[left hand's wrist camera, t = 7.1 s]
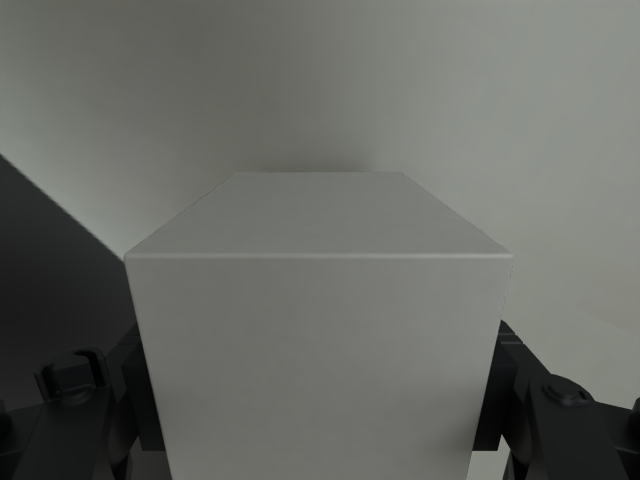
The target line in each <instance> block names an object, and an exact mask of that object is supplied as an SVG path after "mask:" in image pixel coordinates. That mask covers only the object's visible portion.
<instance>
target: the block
mask: <svg viewBox="0 0 640 480" xmlns="http://www.w3.org/2000/svg"><path fill="white" fill-rule="evenodd" d="M513 261H514V255H513V254H512V253H511V252H510V251H508V250H507V249H506V248H504V247H503V246H501V245H500V244H499V243H497V242H496V241H495V240H493V239H492V238H491V237H489V236H488V235H487V234H485V233H484V232H482V231H481V230H480V229H478V228H477V227H476V226H474V225H473V224H472V223H470V222H469V221H468V220H466V219H465V218H464V217H462V216H461V215H459V214H458V213H457V212H455V211H454V210H453V209H451V208H450V207H449V206H447V205H446V204H445V203H443V202H442V201H440V200H439V199H438V198H436V197H435V196H434V195H432V194H431V193H430V192H428V191H427V190H426V189H424V188H423V187H421V186H420V185H419V184H417V183H416V182H415V181H413V180H412V179H411V178H409V177H408V176H407V175H405V174H404V173H402V172H237V173H235V174H234V175H232V176H231V177H230V178H228V179H227V180H225V181H224V182H223V183H221V184H220V185H219V186H217V187H216V188H215V189H213V190H212V191H210V192H209V193H208V194H206V195H205V196H204V197H202V198H201V199H199V200H198V201H197V202H195V203H194V204H193V205H191V206H190V207H188V208H187V209H186V210H184V211H183V212H182V213H180V214H179V215H177V216H176V217H175V218H173V219H172V220H171V221H169V222H168V223H166V224H165V225H164V226H162V227H161V228H160V229H158V230H157V231H155V232H154V233H153V234H151V235H150V236H149V237H147V238H146V239H144V240H143V241H142V242H140V243H139V244H138V245H136V246H135V247H134V248H132V249H131V250H129V251H128V252H127V253H125V254H124V263H125V268H126V272H127V277H128V281H129V286H130V290H131V294H132V299H133V304H134V308H135V313H136V317H137V322H138V326H139V331H140V335H141V340H142V344H143V349H144V354H145V358H146V363H147V367H148V372H149V376H150V381H151V385H152V390H153V394H154V399H155V403H156V408H157V412H158V417H159V421H160V426H161V430H162V435H163V440H164V444H165V449H166V453H167V457H168V462H169V466H170V471H171V476H172V480H466V477H467V472H468V467H469V463H470V458H471V454H472V449H473V444H474V440H475V435H476V431H477V426H478V422H479V417H480V412H481V408H482V403H483V399H484V394H485V389H486V385H487V380H488V376H489V371H490V367H491V362H492V357H493V353H494V348H495V344H496V339H497V334H498V330H499V325H500V321H501V316H502V312H503V307H504V302H505V298H506V293H507V289H508V284H509V279H510V275H511V270H512V266H513Z"/></svg>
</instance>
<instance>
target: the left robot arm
mask: <svg viewBox="0 0 640 480" xmlns="http://www.w3.org/2000/svg"><path fill="white" fill-rule="evenodd" d="M34 376H35V379H36V381H37V384H38V387H39V390H40V392H41V395H42V398H43V400H44V403H42V404H38V405H34V406H29V407H25V408H21V409H16V410H12V411H8V410H7V407H6V405H5V403H4V401H3V400H2V399H0V480H131V474H132V464H133V463H132V457H131V453H130V449H131V447H132V445H133V444H134V442H135V440H136V438H137V436H138V435H139V439H140V443H141V447H142V451H166V449H165V444H164V440H163V435H162V430H161V426H160V421H159V417H158V412H157V408H156V403H155V399H154V394H153V390H152V385H151V381H150V376H149V372H148V367H147V363H146V358H145V354H144V349H143V344H142V340H141V335H140V331H139V326H138V322H136V323H135V324H134V325H133V326H132V327H131V328H130V329H129V330H128V332H127V333H126V334H125V336H124V337H122V338H121V339H120V341H119V342H118V343H117V345H116V346H114V348H113V349H112V350H111V351H110V352H109V353H108V354H107V355H106V357H104V354H103V351H102V350H100V349H99V348H97V347H90V346H86V347H77V348H73V349H70V350H67V351H63V352H61V353H59V354H57V355H55V356H53V357H51V358H49V359H48V360H47V361H45V362H44V363H42V364H41V365H40V366H39V367H38V368H37V370H36V371H35V372H34ZM501 434H502V435H503V437H504V439H505V440H506V442H507V444H508V446H509V447H510V453H509V457H508V460H507V464H506V468H505V471H504V475H503V480H640V397H639V398H638V399H636V402H635V404H634V406H633V409H632V410H630V409H626V408H622V407H617V406H613V405H608V404H604V403H600V402H596V401H595V400H594V399H593V397H592V396H591V395H590V393H589V392H587V391H586V390H585V389H584V388H582V387H581V386H580V385H578V384H576V383H575V382H573V381H571V380H569V379H567V378H564V377H561V376H558V375H555V374H551V373H550V372H549V371H548V370H547V369H546V368H545V367H544V365H543V364H542V363H541V362H540V361H539V360H538V359H537V358H536V356H535V355H534V354H533V353H532V352H531V351H530V350H529V348H528V347H527V346H526V345H525V344H523V342H522V341H521V339H520V338H519V337H518V336H517V335H515V333H514V331H513V330H512V329H511V328H510V327H509V326H508V325H507V323H506V322H504V321H502V320H501V321H500V325H499V330H498V334H497V339H496V344H495V348H494V353H493V357H492V362H491V367H490V371H489V376H488V380H487V385H486V389H485V394H484V399H483V403H482V408H481V412H480V417H479V422H478V426H477V431H476V435H475V440H474V444H473V449H472V451H497V450H498V446H499V442H500V438H501Z"/></svg>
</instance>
